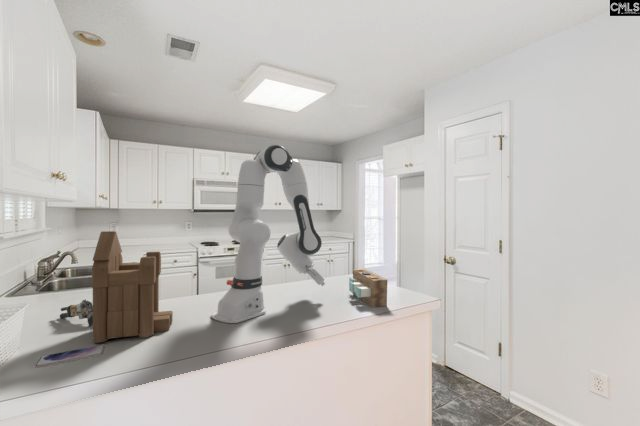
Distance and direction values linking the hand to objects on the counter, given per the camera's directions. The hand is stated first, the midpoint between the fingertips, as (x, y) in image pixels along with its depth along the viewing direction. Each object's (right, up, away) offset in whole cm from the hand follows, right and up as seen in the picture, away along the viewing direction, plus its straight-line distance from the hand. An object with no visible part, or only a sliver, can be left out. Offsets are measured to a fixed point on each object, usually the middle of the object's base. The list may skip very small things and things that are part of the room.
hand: (323, 284), depth 144 cm
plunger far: (+18, -4, +11) cm, 22 cm away
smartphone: (-74, -8, -56) cm, 93 cm away
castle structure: (-68, -7, -33) cm, 76 cm away
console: (+22, -8, +4) cm, 24 cm away
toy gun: (-91, -7, -32) cm, 97 cm away
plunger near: (+20, -4, -5) cm, 21 cm away
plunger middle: (+18, -4, +2) cm, 18 cm away
